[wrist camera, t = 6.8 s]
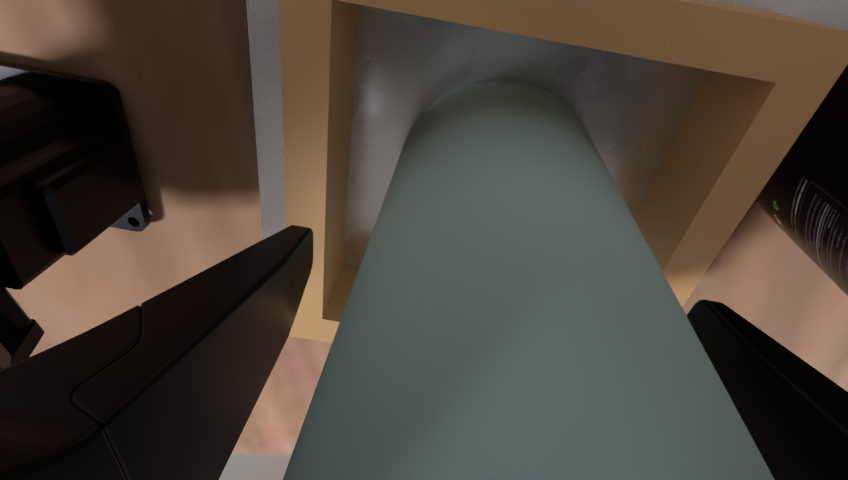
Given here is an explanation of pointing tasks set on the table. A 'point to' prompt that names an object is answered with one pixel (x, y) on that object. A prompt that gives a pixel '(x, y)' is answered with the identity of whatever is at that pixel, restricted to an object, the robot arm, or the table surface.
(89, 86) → the robot arm
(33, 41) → the table surface
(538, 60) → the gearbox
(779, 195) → the supplement bottle
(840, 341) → the table surface
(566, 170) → the tin can
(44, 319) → the table surface
